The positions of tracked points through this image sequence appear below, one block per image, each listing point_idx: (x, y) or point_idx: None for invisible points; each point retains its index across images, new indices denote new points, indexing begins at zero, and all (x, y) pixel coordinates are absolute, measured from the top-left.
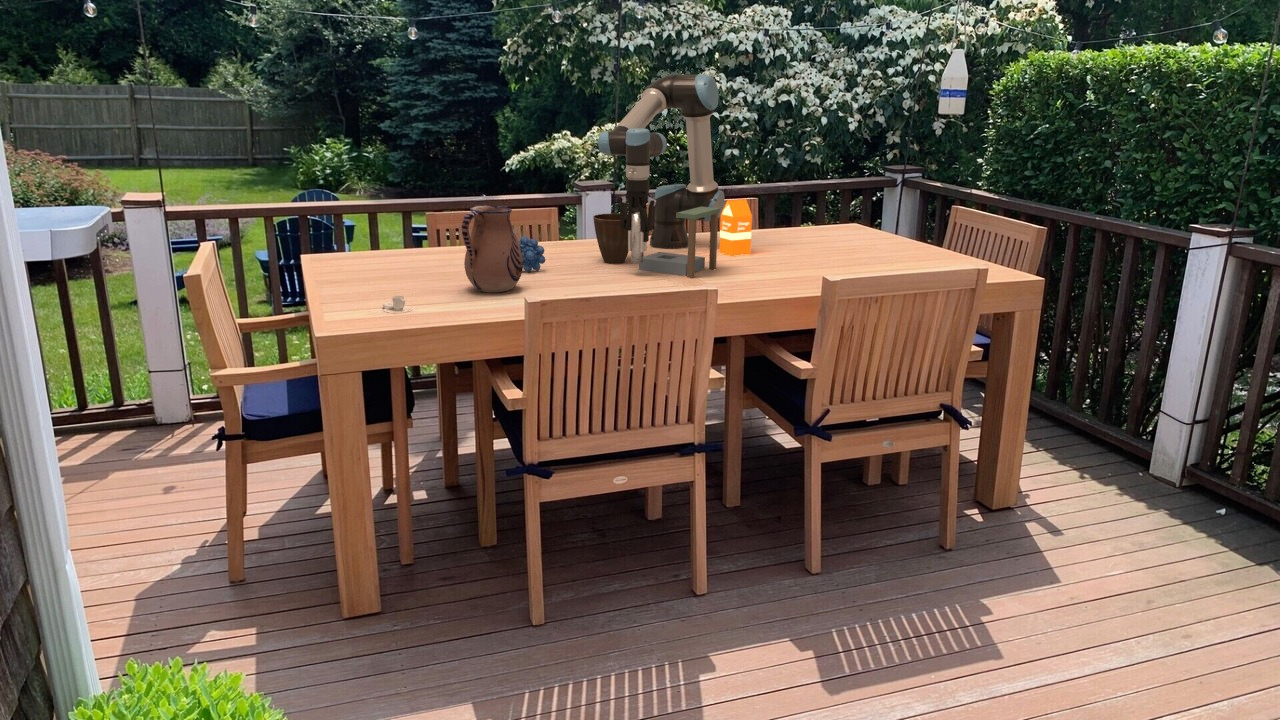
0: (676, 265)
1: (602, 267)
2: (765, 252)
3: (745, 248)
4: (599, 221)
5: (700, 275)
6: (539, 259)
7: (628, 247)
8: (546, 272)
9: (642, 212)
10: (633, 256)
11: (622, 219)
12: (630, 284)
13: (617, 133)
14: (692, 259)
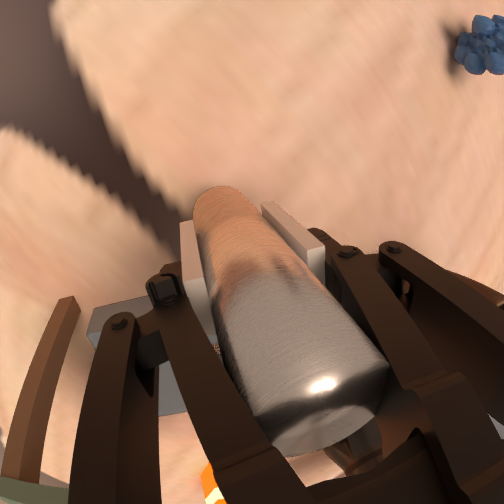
0: None
1: (377, 206)
2: (197, 486)
3: (204, 482)
4: (498, 296)
5: (80, 340)
6: (473, 52)
7: (276, 206)
8: (436, 54)
9: (213, 451)
10: (225, 193)
11: (429, 275)
12: (118, 60)
13: None
14: (40, 340)
